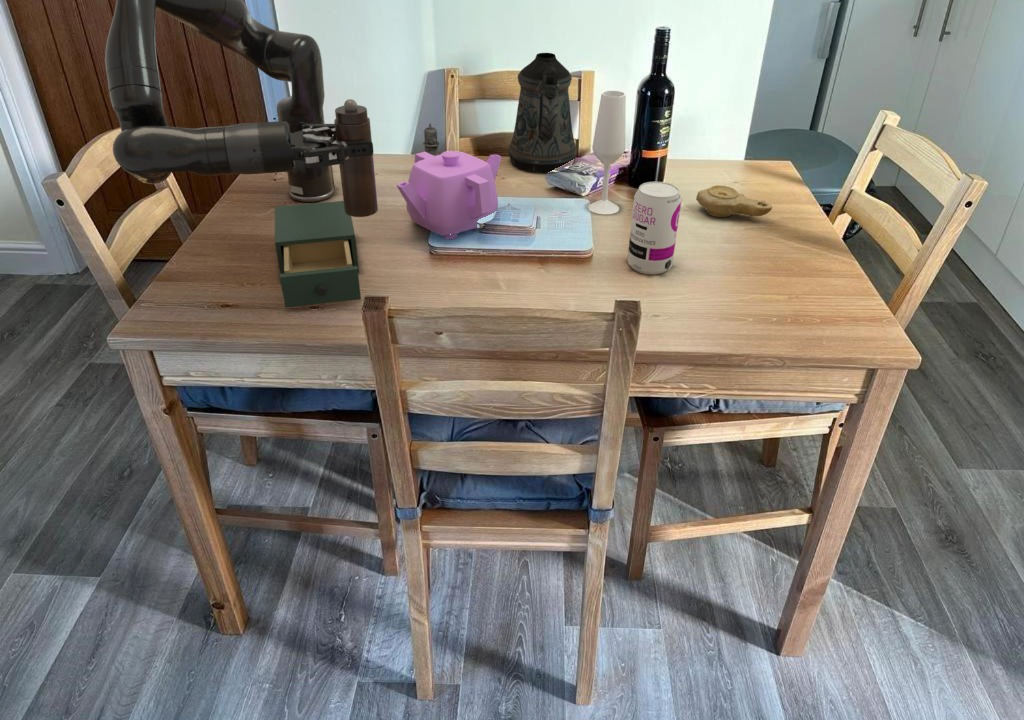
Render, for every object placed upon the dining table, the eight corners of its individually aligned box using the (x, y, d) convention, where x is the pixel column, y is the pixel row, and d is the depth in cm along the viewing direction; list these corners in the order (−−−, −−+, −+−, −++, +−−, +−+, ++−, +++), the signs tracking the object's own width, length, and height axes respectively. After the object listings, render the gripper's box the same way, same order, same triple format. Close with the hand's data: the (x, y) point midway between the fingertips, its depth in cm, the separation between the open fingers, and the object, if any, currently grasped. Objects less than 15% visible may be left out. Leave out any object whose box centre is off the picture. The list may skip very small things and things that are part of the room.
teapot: (400, 244, 148) (394, 169, 139) (411, 206, 163) (407, 136, 154) (499, 246, 148) (499, 171, 139) (501, 208, 162) (501, 138, 154)
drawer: (361, 303, 127) (358, 272, 124) (285, 311, 125) (279, 280, 121) (353, 260, 140) (350, 231, 136) (284, 267, 137) (279, 238, 134)
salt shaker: (441, 180, 175) (439, 128, 168) (416, 178, 176) (413, 126, 169) (448, 171, 180) (446, 120, 173) (424, 169, 180) (421, 118, 174)
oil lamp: (770, 225, 157) (775, 202, 154) (701, 224, 157) (705, 202, 154) (756, 204, 165) (761, 182, 163) (691, 204, 165) (694, 182, 162)
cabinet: (359, 273, 138) (354, 234, 133) (282, 281, 135) (274, 242, 131) (352, 236, 150) (348, 200, 146) (281, 243, 147) (274, 206, 143)
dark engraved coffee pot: (550, 146, 195) (555, 42, 180) (596, 170, 181) (605, 60, 167) (495, 157, 187) (495, 50, 173) (539, 183, 174) (543, 70, 160)
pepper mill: (354, 201, 129) (343, 92, 118) (383, 206, 127) (374, 96, 117) (338, 214, 124) (325, 102, 114) (368, 219, 123) (357, 106, 113)
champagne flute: (584, 211, 161) (592, 96, 148) (592, 199, 167) (601, 87, 153) (615, 216, 159) (626, 100, 146) (622, 204, 165) (634, 91, 151)
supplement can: (674, 259, 144) (685, 183, 135) (667, 279, 137) (678, 201, 129) (632, 252, 146) (640, 177, 137) (623, 271, 139) (631, 194, 131)
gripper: (254, 139, 108) (373, 132, 112) (256, 109, 120) (364, 103, 123) (263, 189, 113) (377, 180, 116) (264, 155, 124) (369, 148, 128)
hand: (370, 141), depth 120 cm, fingers closed on pepper mill, 5 cm apart
